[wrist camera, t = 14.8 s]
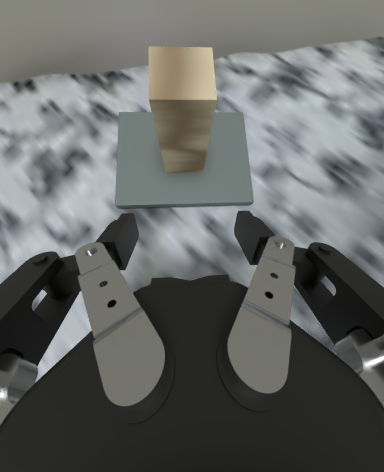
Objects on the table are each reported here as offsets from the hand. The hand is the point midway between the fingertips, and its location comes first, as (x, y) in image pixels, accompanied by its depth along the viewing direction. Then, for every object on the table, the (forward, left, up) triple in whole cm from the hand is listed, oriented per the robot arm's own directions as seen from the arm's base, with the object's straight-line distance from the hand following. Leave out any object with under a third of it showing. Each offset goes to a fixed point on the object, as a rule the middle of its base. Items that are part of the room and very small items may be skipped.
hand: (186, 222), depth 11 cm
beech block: (0, -11, -7) cm, 13 cm away
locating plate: (0, -11, -8) cm, 14 cm away
